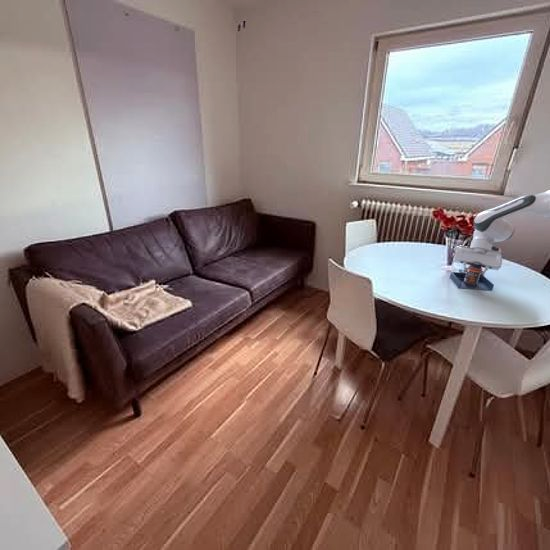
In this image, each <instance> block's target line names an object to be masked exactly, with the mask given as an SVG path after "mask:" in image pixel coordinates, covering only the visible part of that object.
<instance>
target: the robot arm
mask: <svg viewBox="0 0 550 550" xmlns="http://www.w3.org/2000/svg"><path fill="white" fill-rule="evenodd" d="M516 214H529V215H534V216H538V217H541V218H547V219H548V218H550V189H549V190H546V191H544V192H540V193H536V194H529V195H528V194H527V195H524V196H520V197H517V198H516V199H515V198H514V199H513V200H511V201H508V202H506V203H503V204H501V205H499V206H498V205H497V206H496V207H493V208H490V209H486V210H483V211H481V212H479V213H478V214H476V216H474V218H473V228H474V230H475V231H474V230H473V234H472V240H471V242H470V246H467V245H457V246H456V247H455V249H454V251H455V253H454V256H453V259H452V261H453V262H454V263H458V264H462V268H463V272H465V273H467V270H468V267H467V265H468V266H470V265H472V262H473V261H476V262H480V263H482V265H481V268H482V269H483V268H484V270H482V272H481V275H483V276H485V275H486V272H488V271H489V270H492V271H493V270H494V271H499V270H501V268H502V265H503V255H502V250H503V249H502V248H500V247H498V246H496V245H494V244H493V243H501V242H505V241H508V240H510V239H512V237H513V236H514V233H515V229H516V228H515V225H514V224H513V223H511V222H509V221H508V220H507V219H505V218H507V217H510V216H513V215H516Z"/></svg>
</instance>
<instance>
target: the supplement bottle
mask: <svg viewBox="0 0 550 550" xmlns="http://www.w3.org/2000/svg"><path fill="white" fill-rule="evenodd" d="M481 265H482V263H480V262H476V261H473V262H472V265H468V267H467V268H468V269H467V272H465V273H466V276H465V278H464V283H465V284H467V285H471V286H476V285H477V283H478V281H479V278H480V275H481V272H482V271H483V267H481Z"/></svg>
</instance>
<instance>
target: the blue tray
mask: <svg viewBox="0 0 550 550" xmlns="http://www.w3.org/2000/svg"><path fill="white" fill-rule="evenodd" d="M463 271H464V269H462V268H459V269H458V271H451V272H450V274H449V279H450V280H451V281H452V282H453V284H455V286H456V287H457V288H458V289H463V290H464V289H465V290H476V291H477V290H479V291H488V292H489V291H490V292H492V291H493V289H494V286H495V284H494V283H493V282H492V281H490V280H489V279H488V278H487V277H486V276H485V275H484V276H483V275H480V278H479V281H478V283H477V285H476V286H471V285H467V284H465V283H464V279H465V276H466V273H467V272H463Z"/></svg>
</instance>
